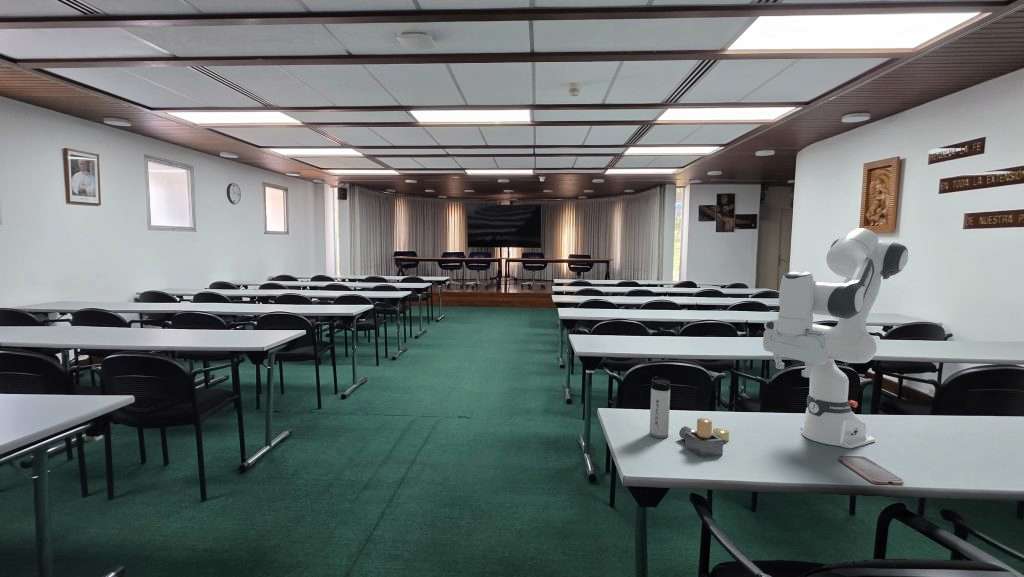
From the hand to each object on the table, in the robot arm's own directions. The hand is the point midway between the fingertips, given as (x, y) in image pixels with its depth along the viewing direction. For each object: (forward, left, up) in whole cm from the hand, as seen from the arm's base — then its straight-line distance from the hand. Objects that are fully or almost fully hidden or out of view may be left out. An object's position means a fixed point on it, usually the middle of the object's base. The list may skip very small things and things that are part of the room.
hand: (792, 372), depth 139 cm
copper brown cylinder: (+19, -14, -29) cm, 37 cm away
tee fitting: (+19, -17, -29) cm, 38 cm away
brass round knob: (+7, -21, -29) cm, 36 cm away
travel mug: (+26, -29, -29) cm, 48 cm away
